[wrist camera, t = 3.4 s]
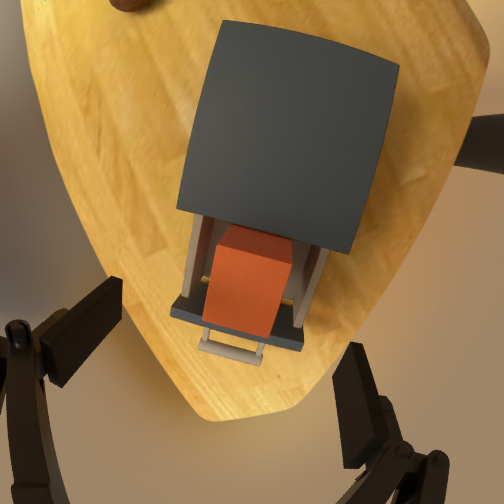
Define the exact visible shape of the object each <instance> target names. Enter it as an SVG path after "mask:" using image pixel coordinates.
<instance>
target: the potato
mask: <svg viewBox="0 0 504 504" xmlns="http://www.w3.org/2000/svg"><path fill="white" fill-rule="evenodd" d="M109 1H110V3H111V4H112V6H113V7H115V8H116V9H118V10H120V11H124V12H135V11H137V10H139V9H141V8H143V7H144V6H145V5H146V4H148V2H149V0H109Z"/></svg>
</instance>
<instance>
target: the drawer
mask: <svg viewBox="0 0 504 504" xmlns="http://www.w3.org/2000/svg"><path fill="white" fill-rule="evenodd" d="M232 224H233V223H230V222H226V221H222V220H218V219H214V218H211V217H207V216H203V215H199V214H195V216H194V222H193V227H192V233H191V238H190V244H189V249H188V255H187V261H186V267H185V274H184V280H183V286H182V292H181V294H180V295H179V297H178V298H177V299H176V301H175V302H174V303H173V305H172V306H171V311H170V316H171V317H174V318H177V319H180V320H184V321H187V322H190V323H193V324H196V325H200V326H203V327H204V332H203V337H201V339H200V342H199V346H198V350H200V351H204V352H207V353H211V354H214V355H217V356H221V357H225V358H228V359H232V360H235V361H239V362H243V363H247V364H251V365H255V366H260V364H261V361H262V357H263V354H262V352H263V349H264V346H265V344H269V345H273V346H277V347H281V348H286V349H290V350H294V351H299V352H301V349H302V347H303V345H304V332H303V322H304V320H305V317H306V315H307V312H308V309H309V307H310V304H311V302H312V299H313V296H314V293H315V291H316V288H317V285H318V282H319V280H320V277H321V274H322V271H323V268H324V266H325V263H326V260H327V257H328V254H329V251H330V250H329V249H326V248H322V247H319V246H315V245H311V244H308V243H304V242H301V241H297V240H293V239H292V262H293V265H292V269H291V272H290V275H289V278H288V281H287V284H286V287H285V290H284V294H283V297H284V298H287V299H291V300H293V307H292V306H288V305H284V304H280V306H279V309H278V312H277V315H276V318H275V321H274V324H273V327H272V329H271V332H270V335H269V338H264V337H260V336H257V335H253V334H249V333H245V332H241V331H238V330H234V329H230V328H227V327H223V326H220V325H216V324H213V323H209V322H206V321H203V320H202V317H203V312H204V306H205V301H206V296H207V291H208V286H209V284H207V283H203V282H200V280H201V278H202V277H203V276H206V277H210V276H211V271H212V266H213V261H214V257H215V252H216V247H217V244H218V243H219V241H220V240H221V239H222V237H223V236H224V235H225V233H226V232H227V231H228V229H229V228H230V227H231V225H232ZM210 329H213V330H217V331H220V332H224V333H227V334H231V335H235V336H238V337H242V338H246V339H249V340H253V341H257V342H259V345H258V348H257V351H256V352H254V351H250V350H246V349H242V348H238V347H235V346H231V345H227V344H224V343H220V342H217V341H213V340H210V339H208V338H209V333H210Z"/></svg>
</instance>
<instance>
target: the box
mask: <svg viewBox="0 0 504 504" xmlns="http://www.w3.org/2000/svg"><path fill="white" fill-rule="evenodd" d="M292 265H293V262H292V239H290V238H286V237H282V236H279V235H275V234H271V233H268V232H264V231H260V230H256V229H253V228H249V227H245V226H241V225H238V224H234V223H233V224H232V225H231V227H230V228H229V229H228V231H227V232H226V233H225V235H224V236H223V237H222V239H221V240H220V241H219V243H218V244H217V247H216V252H215V257H214V261H213V266H212V271H211V276H210V281H209V286H208V291H207V296H206V301H205V306H204V312H203V317H202V320H203V321H206V322H209V323H213V324H216V325H220V326H223V327H227V328H230V329H234V330H238V331H241V332H245V333H249V334H253V335H257V336H260V337H264V338H269V335H270V332H271V329H272V327H273V324H274V321H275V318H276V315H277V312H278V309H279V306H280V303H281V300H282V297H283V294H284V290H285V287H286V284H287V281H288V278H289V275H290V272H291V269H292Z"/></svg>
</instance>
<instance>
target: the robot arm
mask: <svg viewBox="0 0 504 504" xmlns="http://www.w3.org/2000/svg"><path fill="white" fill-rule="evenodd" d="M122 286H123V279H120V278H117V277H114V276H110V277H109V278H108V279H107V280H106V281H104V282H103V283H102V284H101V285H99V286H98V287H97V288H96V289H94V290H93V291H92V292H91V293H89V294H88V295H87V296H86V297H85V298H83V299H82V300H81V301H80V302H79V303H77V304H76V305H75V306H74V307H73V308H72V309H70V310H68V309H65V308H63V309H60V310H58V311H56V312H54V313H53V314H52V315H51V316H50V317H49V318H47V319H46V320H45V322H42V323H41V324H40V325H39V326H38V327H36V328H35V329H34V330H33V331H32V332H31V329H30V325H29V324H28V322H26V321H24V320H13V321H11V322H9V323H8V324H7V325H6V326H5V332H6V336H7V338H5V337H2V336H0V414H1V409H2V406H3V402H4V398H5V394H6V410H7V428H8V440H9V449H10V457H11V465H12V471H13V477H14V484H13V485H12V486H11V494H12V499H13V503H14V504H70V502H69V500H68V497H67V493H66V490H65V487H64V483H63V480H62V477H61V473H60V469H59V465H58V461H57V457H56V452H55V448H54V443H53V439H52V433H51V428H50V422H49V416H48V409H47V402H46V393H45V385H44V379H43V377H44V376H45V375H46V374H48V377H49V380H50V382H52V383H53V384H55V385H57V386H58V387H60V388H63V386H64V385H65V384H66V383H67V382H68V380H69V379H70V378H71V377H72V376H73V374H74V373H75V372H76V371H77V370H78V368H79V367H80V366H81V365H82V364H83V362H84V361H85V360H86V359H87V358H88V357H89V356H90V354H91V353H92V352H93V351H94V349H96V347H97V346H98V345H99V344H100V343H101V342H102V340H103V339H104V338H105V337H106V336H107V335H108V333H109V332H110V331H111V330H112V329H113V328H114V327H115V326H116V325H117V323H118V322H119V321H120V320H121V319H122ZM332 379H333V386H334V393H335V400H336V407H337V415H338V422H339V430H340V438H341V446H342V454H343V455H342V456H343V465H344V469H359V468H360V467H361V466H362V465H363V464H364V463H365V465H366V470H365V471H364V472H363V473H362V474H361V475H359V476H358V477H357V478H356V479H355V480H356V482H354V484H353V485H352V486H351V487H350V488H349V490H348V491H347V492H346V493H345V494H344V495H343V496H342V497H341V499H340V500H339V501H338V502H337V503H336V504H386V502H387V501H388V499H389V498H390V496H391V494H392V493H393V492H394V490H395V492H394V495H393V498H392V501H391V504H444V502H445V496H446V489H447V482H448V474H449V466H450V463H449V458H448V456H447V455H446V454H445V453H444V452H442V451H441V450H434V451H432V452H431V453H429V454H428V455H424V454H420V453H416V452H414V449H413V447H412V445H410V444H409V443H408V442H406V441H404V440H403V438H402V435H401V431H400V428H399V425H398V422H397V419H396V415H395V413H394V409H393V406H392V403H391V402H390V401H389V399H388V398H387V397H386V396H381V395H378V391H377V388H376V384H375V381H374V378H373V375H372V372H371V369H370V366H369V362H368V359H367V356H366V353H365V350H364V347H363V344H361V343H356V342H350V343H349V345H348V347H347V349H346V351H345V353H344V355H343V357H342V359H341V361H340V363H339V365H338V367H337V368H336V370H335V372H334V374H333V376H332Z"/></svg>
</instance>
